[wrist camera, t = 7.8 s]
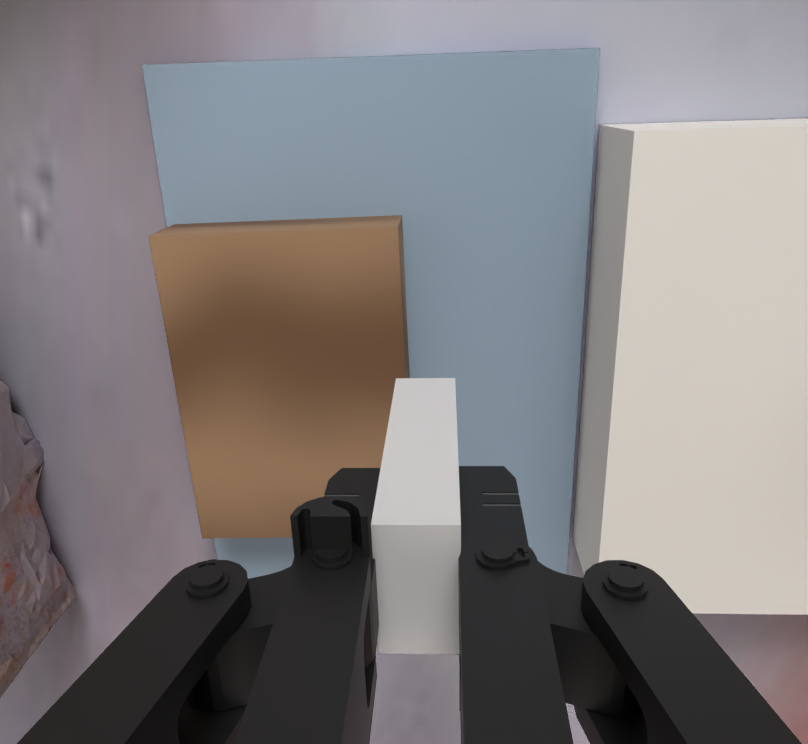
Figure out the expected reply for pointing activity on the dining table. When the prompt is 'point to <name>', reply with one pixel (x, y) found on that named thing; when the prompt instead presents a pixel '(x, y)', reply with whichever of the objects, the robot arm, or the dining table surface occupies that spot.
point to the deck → (699, 362)
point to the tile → (281, 357)
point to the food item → (24, 549)
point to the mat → (422, 224)
